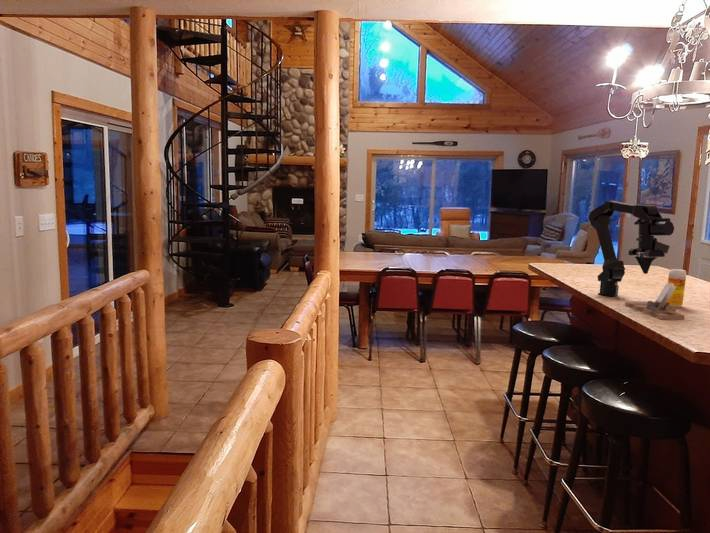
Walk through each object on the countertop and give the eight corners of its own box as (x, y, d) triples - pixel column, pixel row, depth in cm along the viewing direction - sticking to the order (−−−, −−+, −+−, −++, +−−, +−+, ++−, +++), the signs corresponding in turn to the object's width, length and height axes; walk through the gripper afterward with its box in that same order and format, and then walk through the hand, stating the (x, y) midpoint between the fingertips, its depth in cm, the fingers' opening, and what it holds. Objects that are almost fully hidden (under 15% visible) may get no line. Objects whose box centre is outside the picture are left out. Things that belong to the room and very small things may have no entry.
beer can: (673, 308, 213) (678, 271, 211) (661, 304, 219) (665, 268, 217) (685, 307, 215) (690, 271, 213) (673, 303, 221) (677, 268, 218)
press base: (624, 305, 216) (625, 293, 215) (645, 305, 217) (646, 293, 216) (661, 319, 195) (663, 306, 194) (684, 319, 196) (685, 306, 195)
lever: (651, 305, 204) (665, 283, 197) (659, 305, 204) (673, 283, 197) (654, 309, 202) (668, 287, 195) (663, 309, 203) (677, 287, 195)
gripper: (679, 235, 206) (678, 275, 207) (655, 235, 224) (654, 271, 225) (649, 235, 206) (648, 275, 207) (628, 235, 225) (627, 272, 226)
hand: (645, 273), depth 216 cm, fingers closed
